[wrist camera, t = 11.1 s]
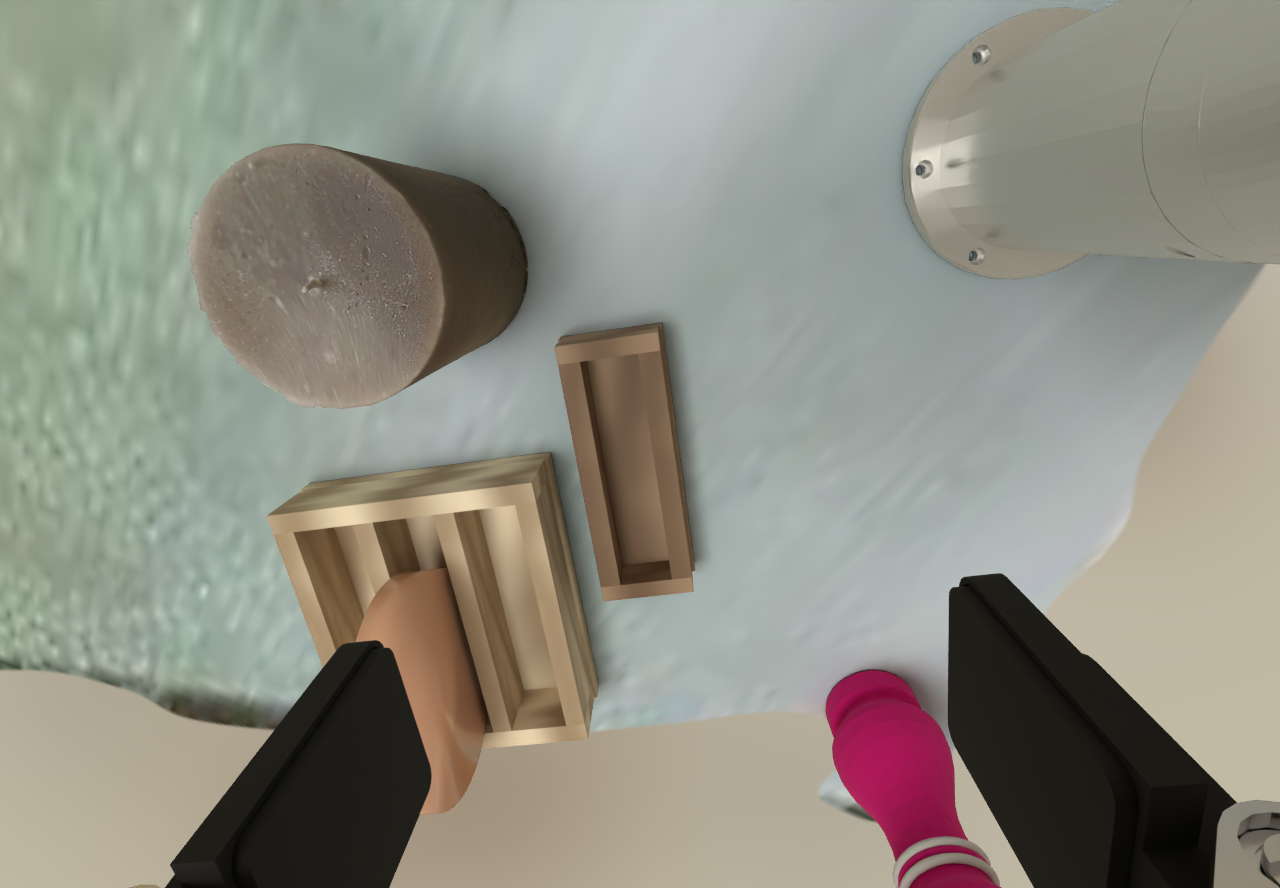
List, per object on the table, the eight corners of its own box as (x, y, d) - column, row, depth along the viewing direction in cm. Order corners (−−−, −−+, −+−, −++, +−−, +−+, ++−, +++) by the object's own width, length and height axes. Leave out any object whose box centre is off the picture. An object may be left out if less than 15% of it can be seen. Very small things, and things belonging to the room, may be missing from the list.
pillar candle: (539, 194, 35) (447, 167, 20) (515, 365, 38) (421, 445, 23) (365, 157, 34) (150, 103, 20) (356, 332, 38) (163, 392, 23)
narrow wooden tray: (661, 322, 37) (661, 331, 33) (694, 563, 42) (696, 591, 38) (560, 337, 37) (551, 347, 34) (605, 573, 42) (600, 601, 39)
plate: (444, 522, 38) (365, 720, 27) (501, 660, 45) (456, 860, 34) (405, 527, 38) (312, 724, 27) (468, 663, 45) (414, 863, 34)
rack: (550, 451, 39) (535, 482, 35) (598, 685, 45) (590, 738, 40) (309, 483, 41) (263, 516, 36) (386, 706, 46) (354, 760, 42)
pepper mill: (941, 710, 45) (1143, 1062, 26) (856, 761, 47) (988, 1125, 28) (882, 645, 43) (1052, 969, 24) (797, 699, 45) (894, 1042, 26)
